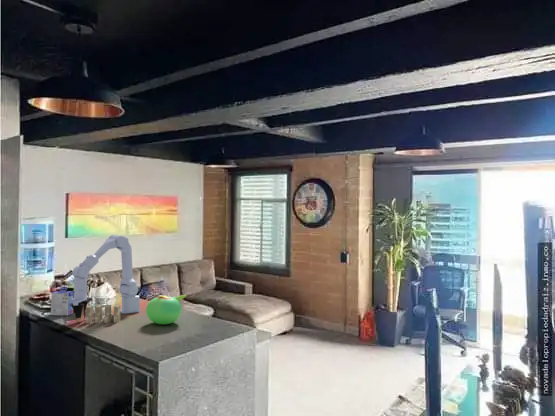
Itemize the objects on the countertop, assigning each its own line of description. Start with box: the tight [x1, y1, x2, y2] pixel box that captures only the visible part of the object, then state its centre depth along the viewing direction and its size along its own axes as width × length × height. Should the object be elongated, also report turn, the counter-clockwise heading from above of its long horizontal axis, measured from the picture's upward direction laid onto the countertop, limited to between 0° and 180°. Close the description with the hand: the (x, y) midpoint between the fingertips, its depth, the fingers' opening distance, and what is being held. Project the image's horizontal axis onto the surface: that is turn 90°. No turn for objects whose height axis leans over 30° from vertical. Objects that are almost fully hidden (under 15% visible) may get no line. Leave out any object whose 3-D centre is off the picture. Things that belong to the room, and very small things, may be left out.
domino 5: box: [113, 304, 121, 324], centre depth 214 cm, size 2×5×8 cm, turn 7°
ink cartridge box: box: [50, 286, 74, 316], centre depth 227 cm, size 10×6×14 cm, turn 89°
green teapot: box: [145, 294, 187, 325], centre depth 210 cm, size 18×17×15 cm
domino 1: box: [75, 306, 85, 323], centre depth 211 cm, size 2×5×8 cm, turn 7°
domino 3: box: [94, 304, 103, 324], centre depth 213 cm, size 2×5×8 cm, turn 7°
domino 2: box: [85, 304, 94, 324], centre depth 212 cm, size 2×5×8 cm, turn 7°
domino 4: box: [104, 304, 112, 324], centre depth 213 cm, size 2×5×8 cm, turn 7°
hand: (80, 316), depth 211 cm, fingers closed on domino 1, 5 cm apart
